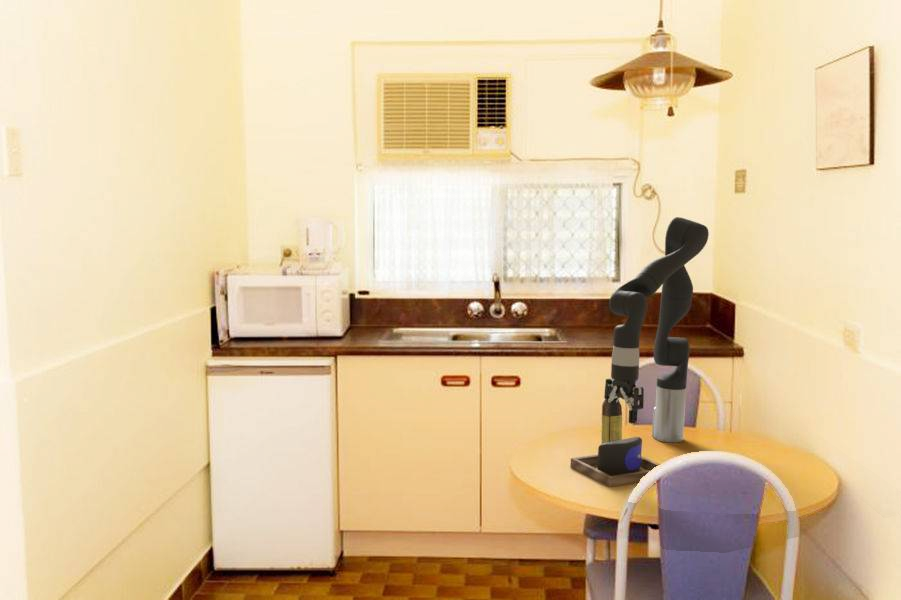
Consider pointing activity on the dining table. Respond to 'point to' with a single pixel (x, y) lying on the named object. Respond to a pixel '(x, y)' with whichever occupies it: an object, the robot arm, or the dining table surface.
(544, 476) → the dining table surface
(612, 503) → the dining table surface
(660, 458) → the dining table surface
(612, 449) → the black two-tone rounded block
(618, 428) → the sauce bottle
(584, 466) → the walnut tray
